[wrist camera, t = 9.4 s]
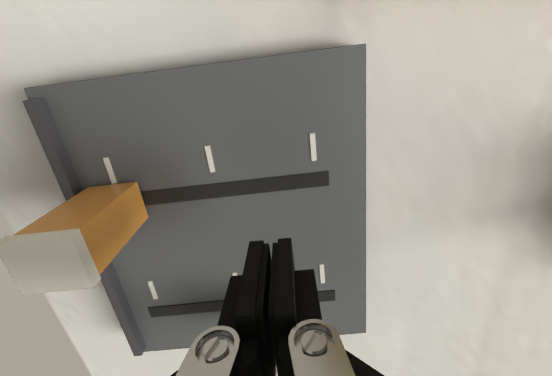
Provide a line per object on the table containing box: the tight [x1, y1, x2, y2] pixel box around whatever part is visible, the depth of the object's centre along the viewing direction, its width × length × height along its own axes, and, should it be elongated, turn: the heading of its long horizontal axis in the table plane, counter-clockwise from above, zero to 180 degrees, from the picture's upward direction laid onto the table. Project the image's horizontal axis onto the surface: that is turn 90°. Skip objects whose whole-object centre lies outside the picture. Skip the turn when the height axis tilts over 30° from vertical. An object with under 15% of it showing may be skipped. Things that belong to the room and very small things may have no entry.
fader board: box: [23, 44, 366, 356], centre depth 19 cm, size 18×20×3 cm
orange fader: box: [0, 182, 148, 295], centre depth 15 cm, size 3×3×6 cm
